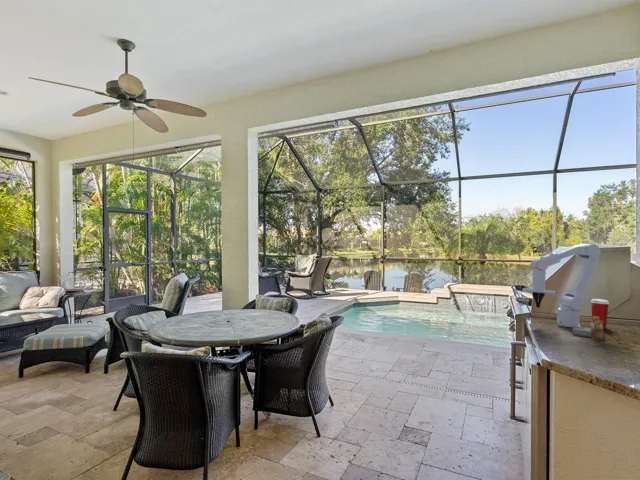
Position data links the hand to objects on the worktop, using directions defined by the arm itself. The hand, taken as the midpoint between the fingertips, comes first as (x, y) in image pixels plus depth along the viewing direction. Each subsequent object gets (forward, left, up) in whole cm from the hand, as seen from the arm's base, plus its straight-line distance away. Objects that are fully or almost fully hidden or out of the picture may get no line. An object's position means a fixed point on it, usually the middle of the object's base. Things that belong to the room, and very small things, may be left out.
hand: (538, 307), depth 184 cm
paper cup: (+26, +17, -10) cm, 33 cm away
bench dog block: (+24, -6, -9) cm, 26 cm away
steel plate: (+19, -7, -10) cm, 22 cm away
